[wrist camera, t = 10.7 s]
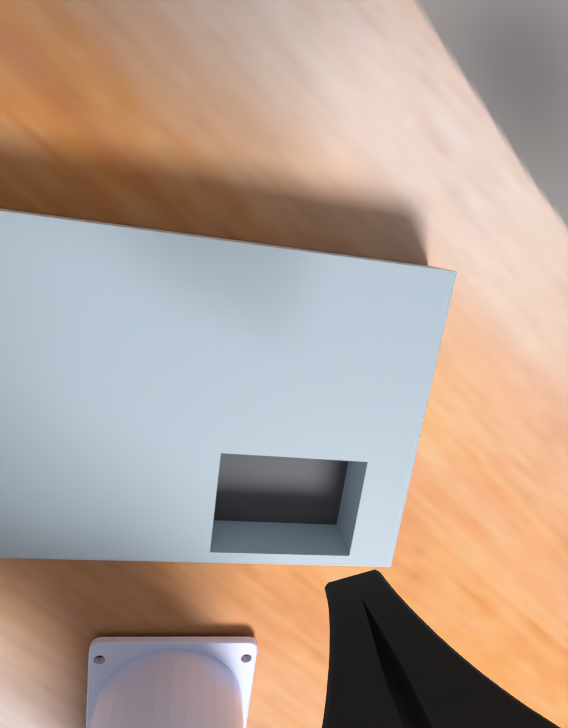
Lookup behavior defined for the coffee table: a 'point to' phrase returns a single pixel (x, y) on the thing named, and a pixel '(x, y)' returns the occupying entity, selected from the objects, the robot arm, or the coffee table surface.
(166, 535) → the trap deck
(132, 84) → the coffee table surface
